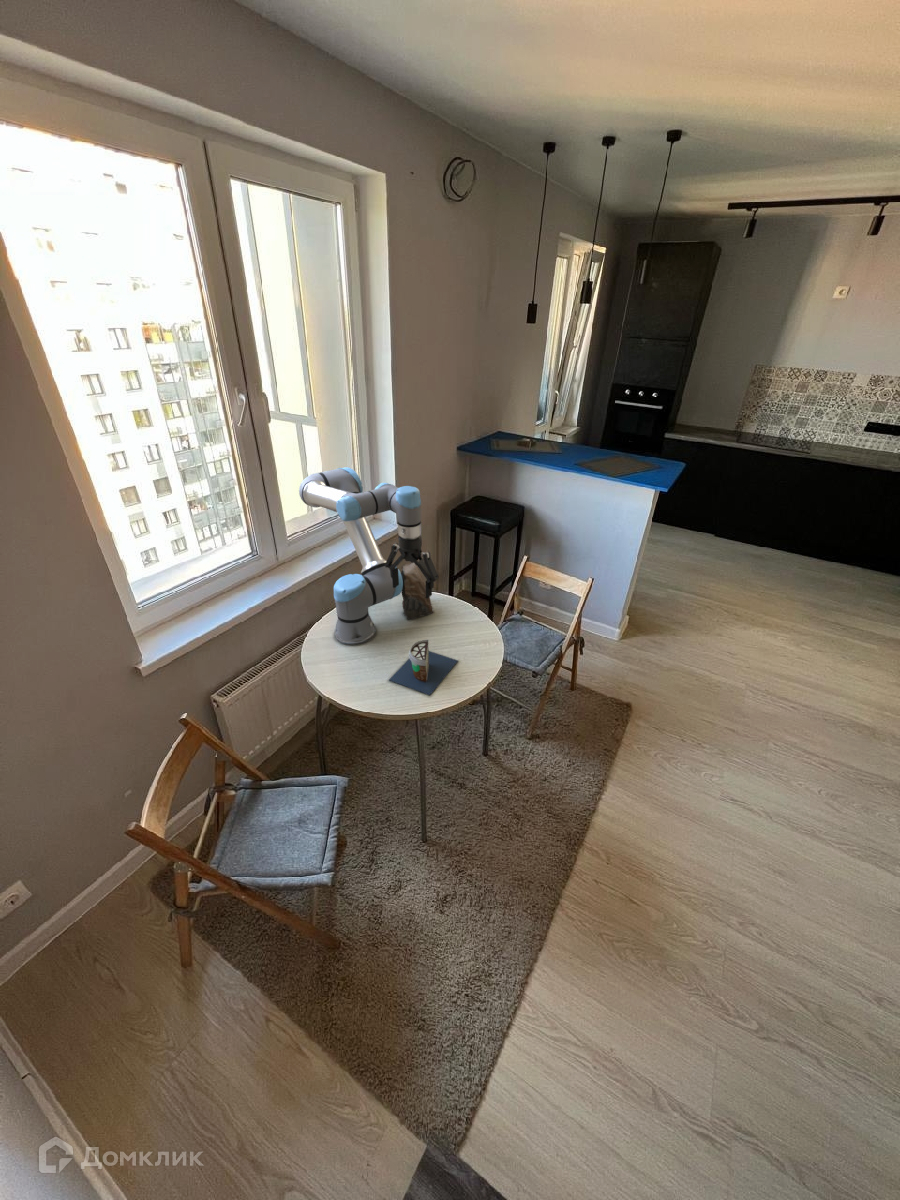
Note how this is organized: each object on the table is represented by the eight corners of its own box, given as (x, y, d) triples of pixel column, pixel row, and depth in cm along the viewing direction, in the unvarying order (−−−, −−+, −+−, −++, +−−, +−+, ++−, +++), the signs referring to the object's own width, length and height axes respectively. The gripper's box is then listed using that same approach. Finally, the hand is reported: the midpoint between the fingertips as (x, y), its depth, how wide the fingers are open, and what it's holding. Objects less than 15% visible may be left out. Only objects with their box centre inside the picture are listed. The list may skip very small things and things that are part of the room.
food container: (412, 661, 174) (410, 638, 169) (429, 661, 174) (428, 638, 169) (407, 684, 164) (406, 660, 159) (426, 684, 164) (425, 661, 158)
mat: (389, 680, 166) (389, 679, 166) (419, 648, 181) (419, 647, 181) (430, 695, 160) (430, 694, 160) (458, 661, 175) (458, 660, 175)
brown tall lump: (406, 621, 196) (403, 578, 186) (393, 607, 206) (390, 564, 195) (434, 613, 202) (433, 570, 191) (420, 599, 211) (418, 557, 201)
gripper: (371, 531, 161) (376, 586, 172) (437, 548, 151) (437, 606, 162) (385, 523, 167) (388, 577, 178) (449, 539, 156) (448, 595, 168)
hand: (412, 591), depth 170 cm, fingers open, 13 cm apart
